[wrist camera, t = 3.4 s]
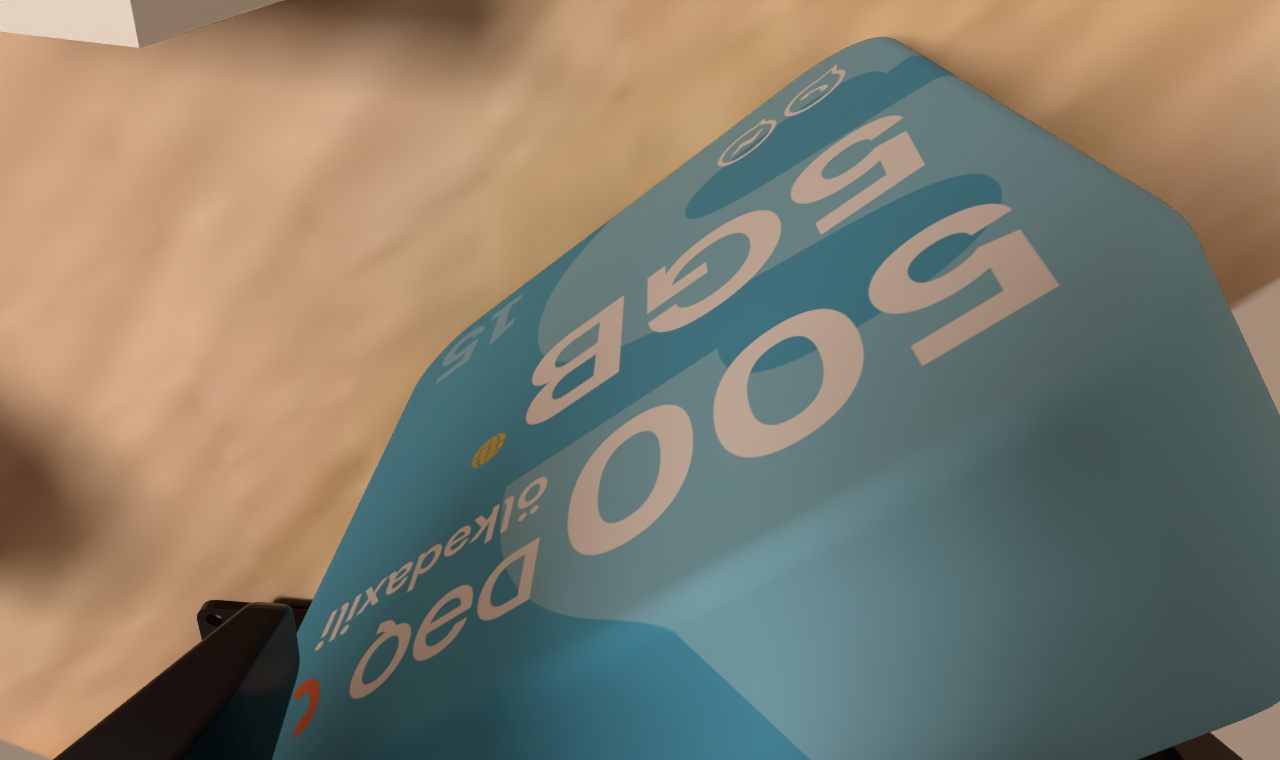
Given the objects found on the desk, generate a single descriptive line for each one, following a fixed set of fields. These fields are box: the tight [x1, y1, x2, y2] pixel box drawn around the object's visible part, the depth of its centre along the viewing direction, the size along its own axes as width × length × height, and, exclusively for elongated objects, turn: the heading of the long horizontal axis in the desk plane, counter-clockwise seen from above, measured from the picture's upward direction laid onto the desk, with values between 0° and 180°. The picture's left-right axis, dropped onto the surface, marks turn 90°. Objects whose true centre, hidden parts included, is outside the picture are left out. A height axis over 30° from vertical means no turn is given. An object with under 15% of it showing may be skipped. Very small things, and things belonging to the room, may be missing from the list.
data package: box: [272, 37, 1280, 760], centre depth 13 cm, size 12×4×12 cm, turn 128°
